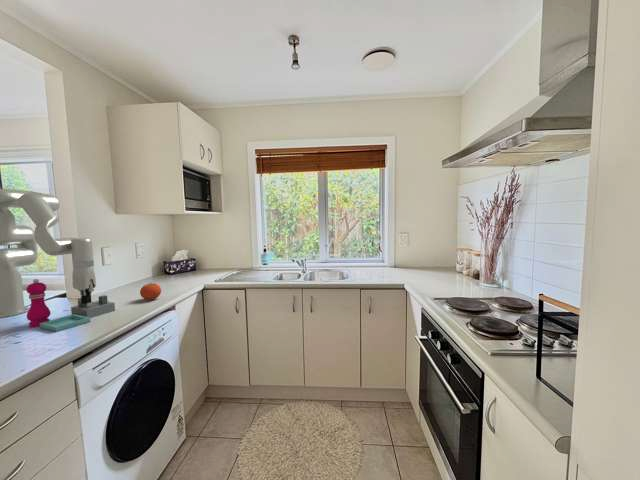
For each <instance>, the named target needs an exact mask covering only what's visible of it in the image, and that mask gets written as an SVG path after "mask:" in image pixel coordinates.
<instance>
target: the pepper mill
mask: <svg viewBox="0 0 640 480" xmlns="http://www.w3.org/2000/svg"><path fill="white" fill-rule="evenodd" d="M32 282H33V283H30V284H29V285H27V287H26V293H27V294H29V295H28V299H29V300H30V307H29V311H27V313H26V320H28V321H29V322H28V327H29V328H40V323H43V322H47V321H51V320H50V318H49V317H50V315H51V310H50V308H49V307H48V306H47V304H46V303H45V297H46V293H45V292H46V291H47V285H46V284H45V283H43V282H40V280H39V279H37V278H36V279H33V280H32Z"/></svg>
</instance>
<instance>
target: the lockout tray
mask: <svg viewBox="0 0 640 480" xmlns="http://www.w3.org/2000/svg"><path fill="white" fill-rule="evenodd" d="M88 323H91V318H90V317H85V316H80V315H75V314H73V315H72V314H70V315H66V316H63V317H59V318H55V319H52V320H50V321H47V322H43V323H40V327H39V329H42V330H46V331H49V332H54V333H59V332H62V331H65V330H68V329H71V328H75V327H78V326H82V325H86V324H88Z"/></svg>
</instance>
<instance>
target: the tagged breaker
mask: <svg viewBox="0 0 640 480" xmlns="http://www.w3.org/2000/svg"><path fill="white" fill-rule="evenodd" d="M86 305H87V304H82V301H81V297H80V298H77V306H80V307H83V306H86Z"/></svg>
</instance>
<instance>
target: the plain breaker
mask: <svg viewBox="0 0 640 480" xmlns="http://www.w3.org/2000/svg"><path fill="white" fill-rule="evenodd" d="M98 300H99V304H105V303H108V302H109V301H108V295H106V294H104V295H100V296H98Z"/></svg>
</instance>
